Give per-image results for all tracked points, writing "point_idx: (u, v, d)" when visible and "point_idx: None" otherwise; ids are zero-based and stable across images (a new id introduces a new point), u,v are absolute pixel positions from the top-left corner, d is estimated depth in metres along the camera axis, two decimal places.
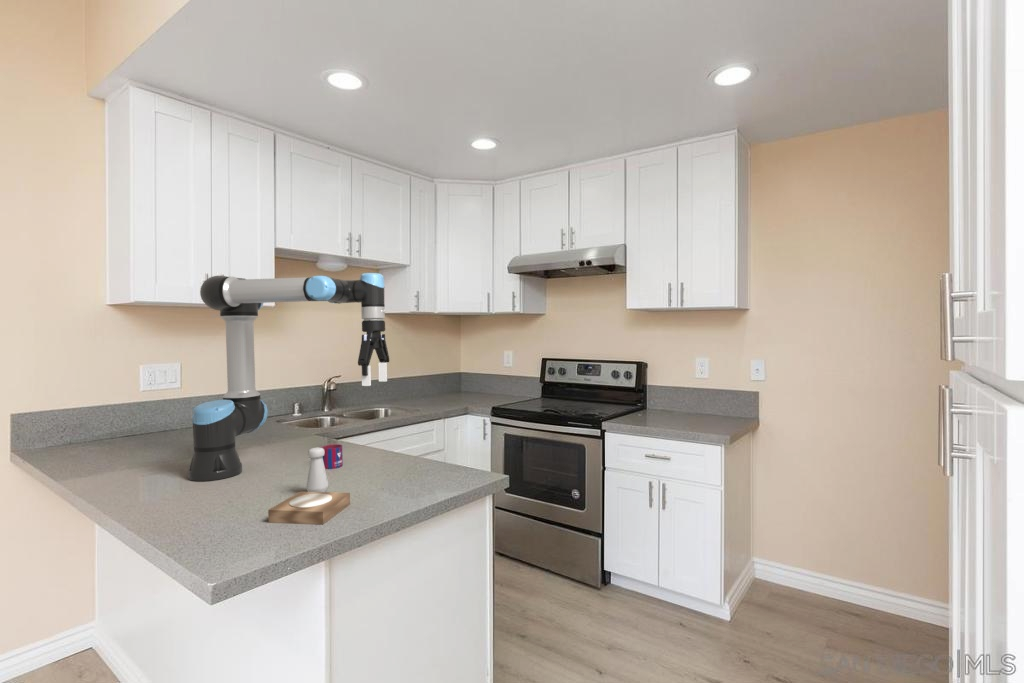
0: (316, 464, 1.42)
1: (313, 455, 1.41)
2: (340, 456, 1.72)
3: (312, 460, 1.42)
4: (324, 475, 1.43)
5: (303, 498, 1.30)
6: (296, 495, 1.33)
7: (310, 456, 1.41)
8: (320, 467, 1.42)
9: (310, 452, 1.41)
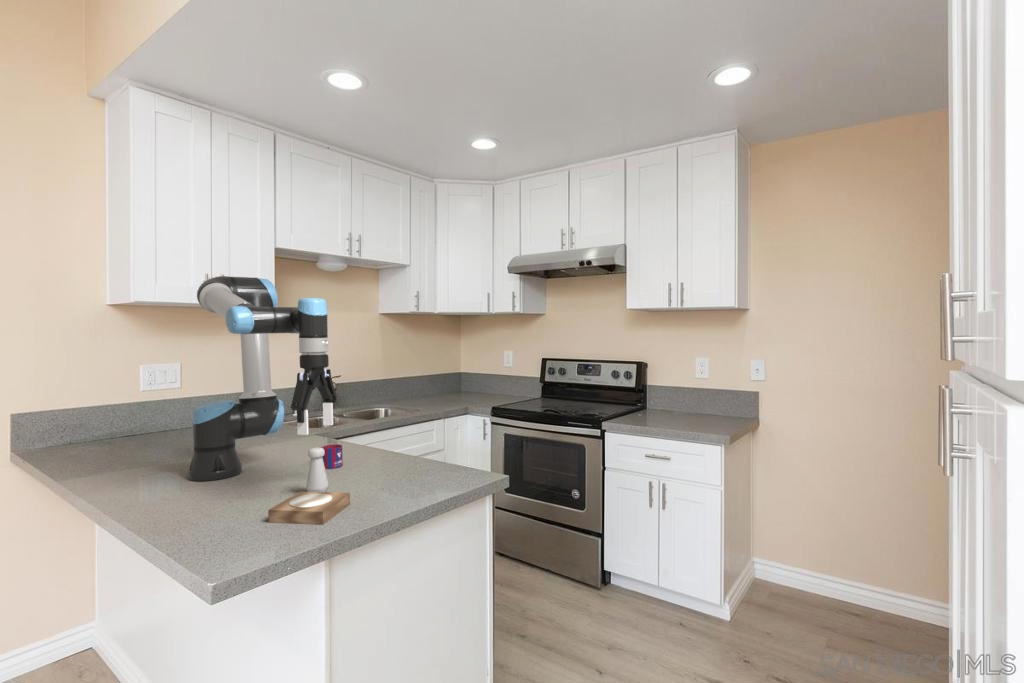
0: (316, 464, 1.42)
1: (313, 455, 1.41)
2: (340, 456, 1.72)
3: (312, 460, 1.42)
4: (324, 475, 1.43)
5: (303, 498, 1.30)
6: (296, 495, 1.33)
7: (310, 456, 1.41)
8: (320, 467, 1.42)
9: (310, 452, 1.41)
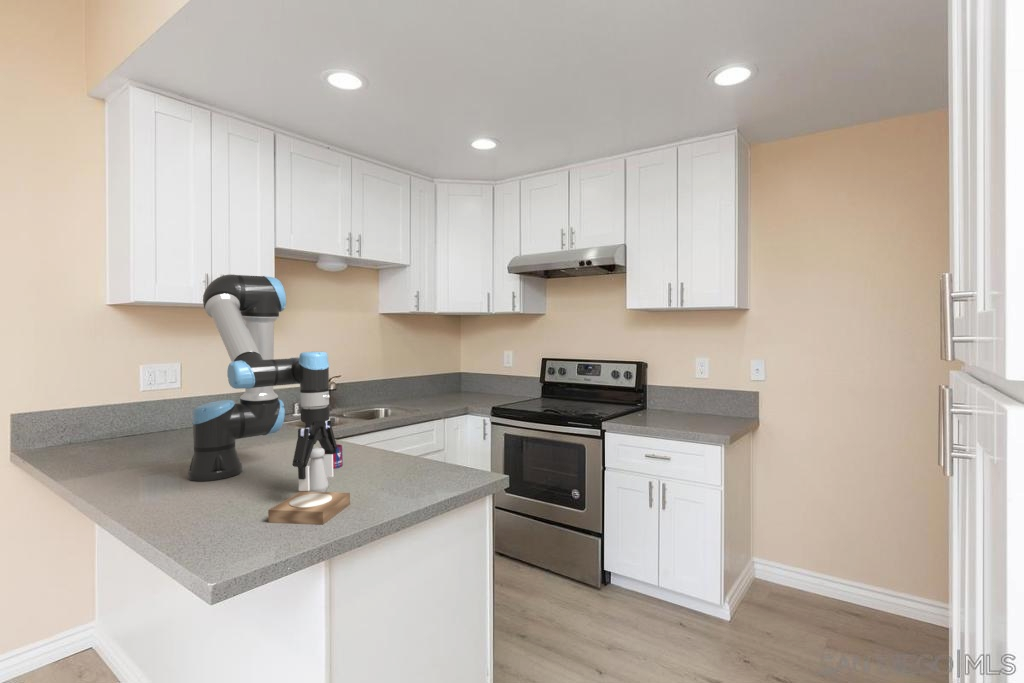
0: (316, 464, 1.42)
1: (313, 455, 1.41)
2: (340, 456, 1.72)
3: (312, 460, 1.42)
4: (324, 475, 1.43)
5: (303, 498, 1.30)
6: (296, 495, 1.33)
7: (310, 456, 1.41)
8: (320, 467, 1.42)
9: None
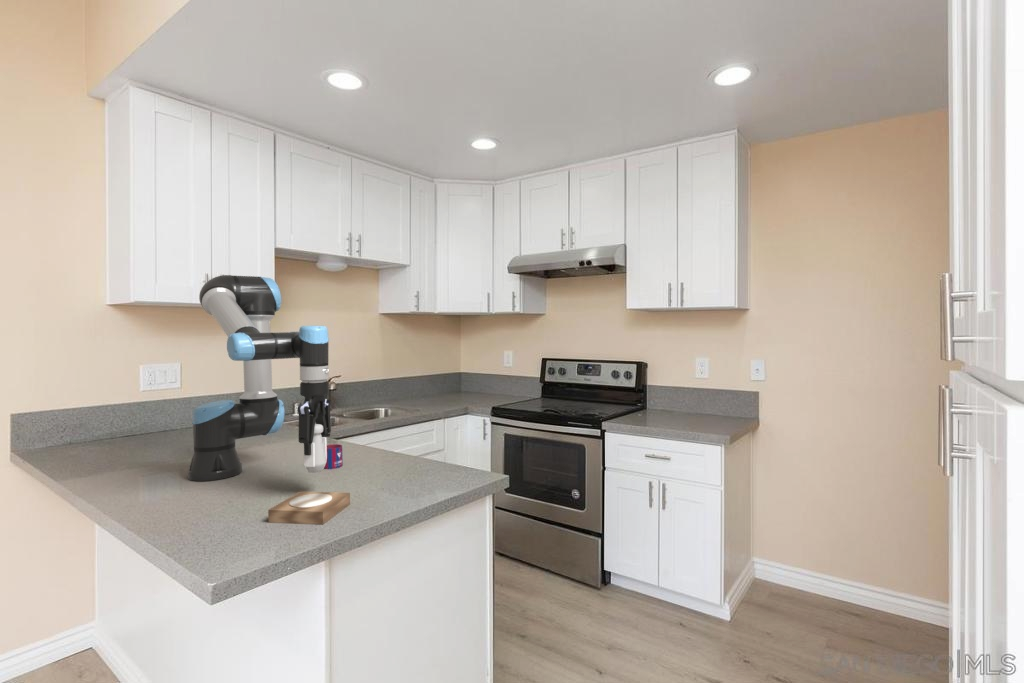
0: (315, 440, 1.42)
1: None
2: (340, 456, 1.72)
3: None
4: (322, 451, 1.43)
5: (303, 498, 1.30)
6: (296, 495, 1.33)
7: None
8: (318, 443, 1.42)
9: None
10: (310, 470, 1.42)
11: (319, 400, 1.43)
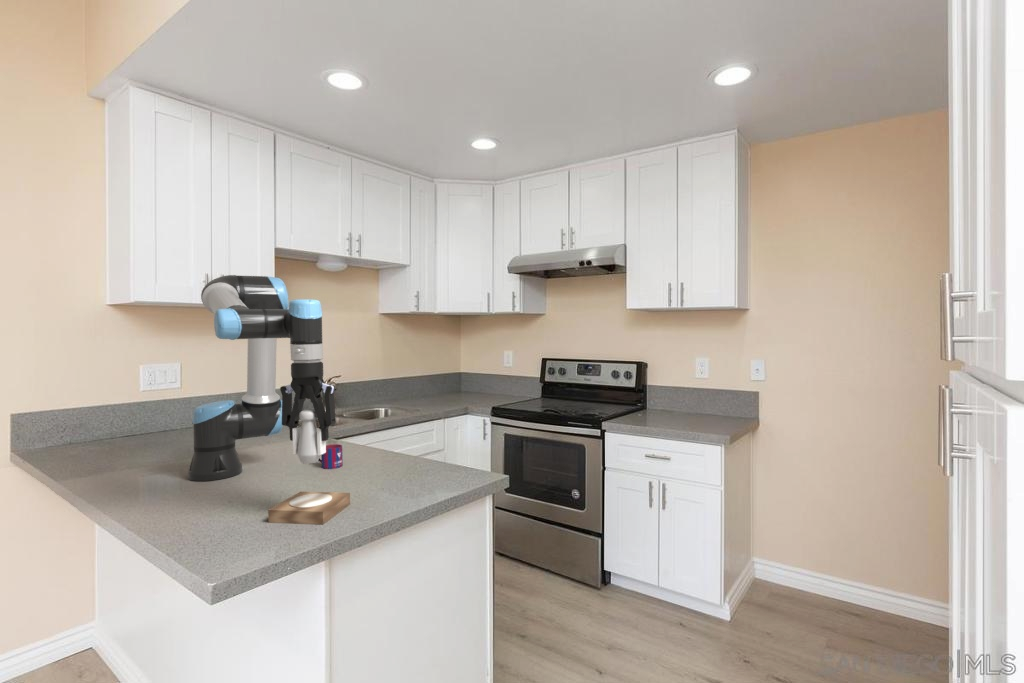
0: (301, 426, 1.28)
1: None
2: (340, 456, 1.72)
3: None
4: (303, 442, 1.26)
5: (303, 498, 1.30)
6: (296, 495, 1.33)
7: None
8: (301, 431, 1.27)
9: None
10: None
11: (307, 383, 1.27)
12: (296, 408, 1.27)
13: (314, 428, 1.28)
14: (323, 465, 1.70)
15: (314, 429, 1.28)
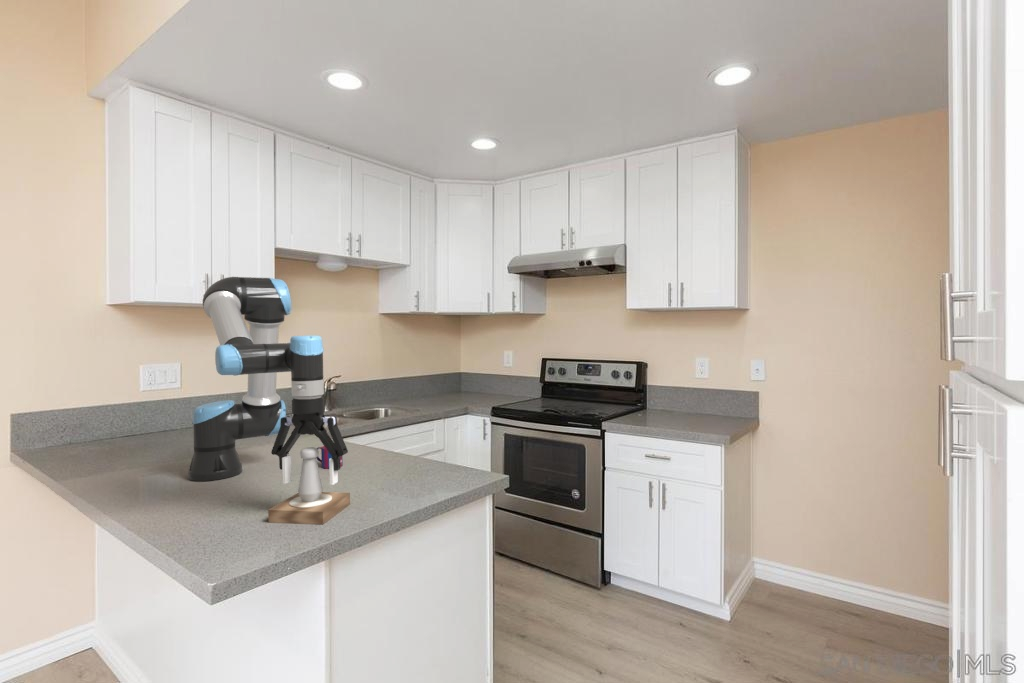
0: (302, 464, 1.28)
1: None
2: None
3: None
4: (304, 480, 1.26)
5: None
6: (296, 495, 1.33)
7: None
8: (302, 469, 1.27)
9: None
10: None
11: (308, 419, 1.27)
12: (291, 441, 1.28)
13: (315, 466, 1.28)
14: (323, 465, 1.70)
15: (315, 467, 1.28)
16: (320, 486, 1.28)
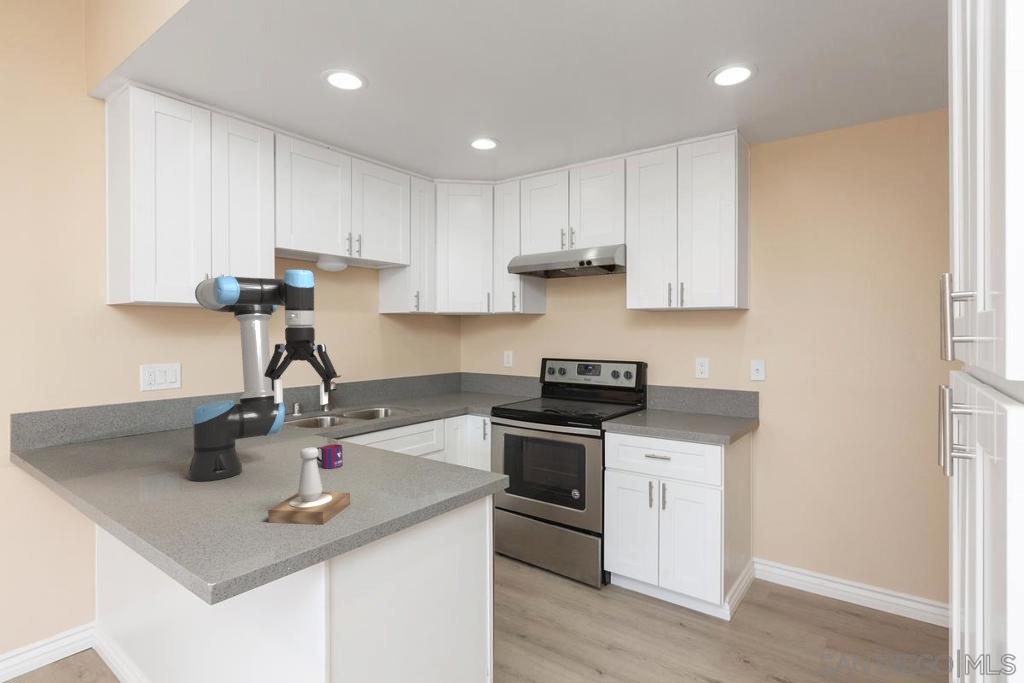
0: (302, 465, 1.28)
1: None
2: (340, 456, 1.72)
3: None
4: (304, 480, 1.26)
5: None
6: (296, 495, 1.33)
7: None
8: (302, 470, 1.27)
9: None
10: None
11: (299, 347, 1.40)
12: (283, 365, 1.40)
13: (315, 466, 1.28)
14: (323, 465, 1.70)
15: (315, 467, 1.28)
16: (320, 486, 1.28)
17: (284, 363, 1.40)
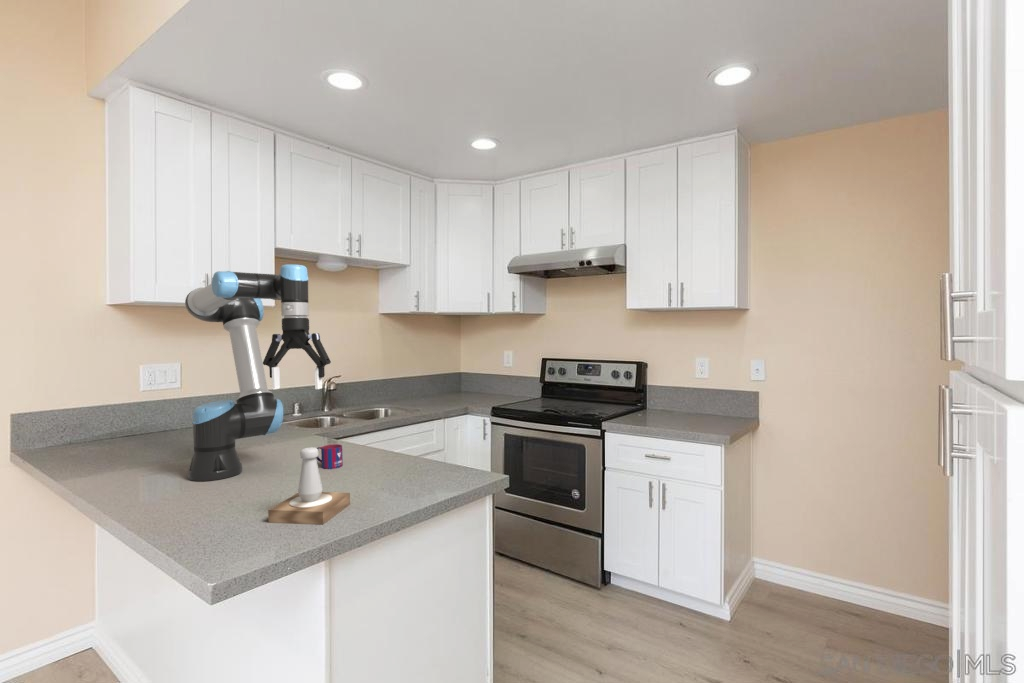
0: (302, 465, 1.28)
1: None
2: (340, 456, 1.72)
3: None
4: (304, 480, 1.26)
5: None
6: (296, 495, 1.33)
7: None
8: (302, 470, 1.27)
9: None
10: None
11: (295, 336, 1.51)
12: (280, 353, 1.51)
13: (315, 466, 1.28)
14: (323, 465, 1.70)
15: (315, 467, 1.28)
16: (320, 486, 1.28)
17: (281, 351, 1.51)
